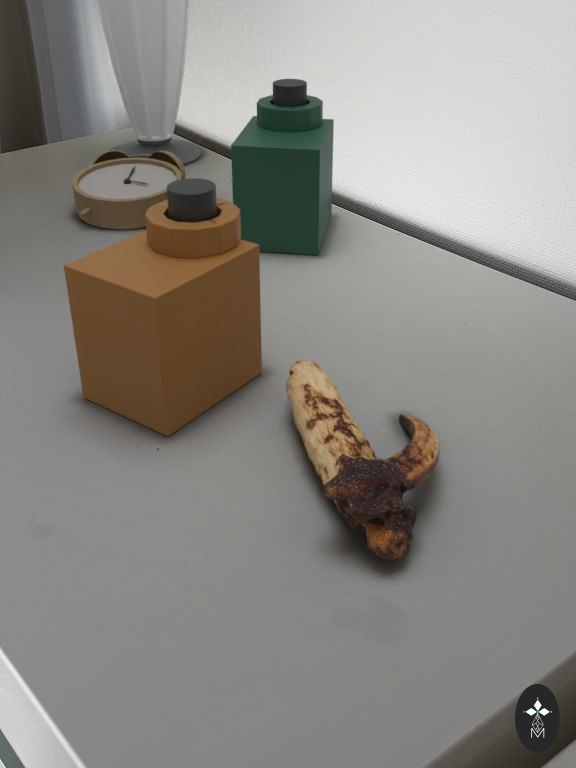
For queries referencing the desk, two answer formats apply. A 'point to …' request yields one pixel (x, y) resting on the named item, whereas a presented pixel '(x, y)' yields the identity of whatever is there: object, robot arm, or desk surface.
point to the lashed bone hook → (360, 462)
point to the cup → (149, 69)
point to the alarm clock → (124, 187)
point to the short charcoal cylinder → (289, 92)
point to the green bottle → (284, 177)
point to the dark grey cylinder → (192, 200)
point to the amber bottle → (168, 318)
